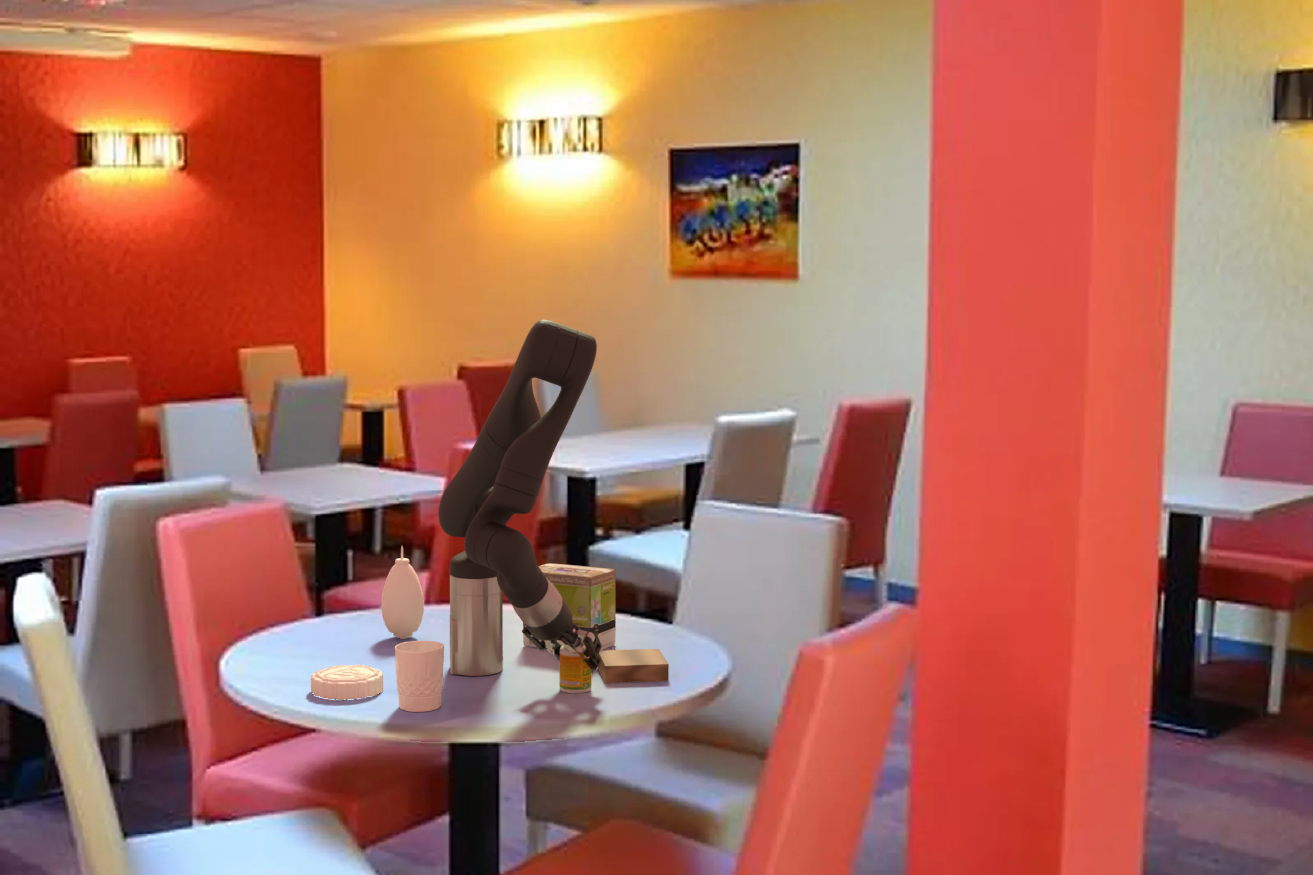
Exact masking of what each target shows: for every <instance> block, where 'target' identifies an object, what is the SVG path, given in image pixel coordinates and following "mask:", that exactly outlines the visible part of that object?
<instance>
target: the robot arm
mask: <svg viewBox="0 0 1313 875" xmlns="http://www.w3.org/2000/svg"><path fill="white" fill-rule="evenodd" d="M597 350H598V344H597V340H596V338H595V337H594V336H593V335H590V334H588V333H586V332H583V331H580V330H578V329H576V328H573V327H570V326H567V325H565V324H561V323H559V322H556V321H553V320H549V319H540V320H538V321H536V322H535V323H534V324H533V325H532V327H531V328H530V330H529V331H528V333H527V335H526V337H525V339H524V341H523V344H522V346H521V348H520V350H519V352H518V355H517V358H516V361H515V363H514V366H513V367H512V370H511V372H510V375H509V377H508V379H507V381H506V384H505V386H504V387H503V389H502V392H501V393H500V395H499V396H498V398H497V401H495V404H494V406H493V407H492V409H491V411H490V412H489V414H488V416H487V418H486V420H485V422H484V424H483V426H482V427H481V430H480V432H479V434H478V436H477V438H476V440H475V443H474V444H473V446H472V448H471V450H470V452H469V454H468V455H467V457H466V459H465V460H464V461H463V463H462V464H461V466H460V468H459V469H458V470H457V472H456V473H455V475H454V476H453V478H452V479H451V480H450V482H448V483H449V484H447V486H446V488H445V490H444V491H443V494H442V496H441V498H440V500H439V501H440V502H439V505H438V506H439V507H438V521H439V525H440V527H441V530H442V532H444V533H445V534H446V535H448V536H451V537H452V538H453V537H454V538H464V550H463V551H462V552H459V553H457V554H456V555H454V556H453V557H452V558H451V559H450V561H449V669H450V674H451V675H461V676H469V677H470V676H471V677H473V676H474V677H476V676H478V677H479V676H488V675H489V676H490V675H494V674H497V673H500V672H502V671H503V669H504V666H503V664H504V662H503V661H504V651H503V648H504V646H503V644H504V643H503V642H504V641H503V638H504V637H503V636H504V634H503V631H504V629H503V627H504V626H503V624H504V623H503V621H504V619H503V614H504V613H503V609H504V608H503V606H504V605H503V604H504V603H503V600H504V599H503V597H504V596H505V597H506V599H507V600H508V601H509V603H510V605H511V606H512V608H513V610H514V612H515V614H516V615H517V616H518V617H519V619H520V620H521V621H522V624H523V623H524V624H525V626H524V628H523V627H522V630H521V633H522V635H523V634H524V635H525V636H526V637H527V638H528V639H529V640H530V641H531V642H532V643H533V644H534V645H535V646H536V647H535V648H537V649H538V650H540V651H543V652H544V651H545V650H547V652H548V653H550V654H551V655H554V657H555V658H556V660H558V662H559V663H560V648H561V646H565V647H566V648H567V649H568V650H570V651H571V652H572V653H574V654H575V653H578V654H579V655H580V656H581V657H583V658H584V660H585V662H586V663H587V664H588V666H589V667H590V669H591V671H592V670H593V671H597V669H599V668H598V666H599V663H600V661H601V659H600V658H599V656H598V654H599V651H600V649H601V647H602V645H601V643H600V640H599V638H598V635H597V633H596V631H595V630H594V629H593V628H589V629H588V631H583V630H580V628H579V627H578V626H577V625H576V624H575V623H574V622H573V619H572V612H571V609H570V608H569V606H568V605H567V603H566V602H565V601H564V599H563V598H562V596H561V595H560V593H559V592H558V591H557V589H556V588H555V586H554V585H553V584H552V583H551V582H550V581H549V580H548V579H547V578H546V576H545V575H544V573H543V572H542V571H541V569H540V568H539V567H538V566H539V565H538V563H537V562H538V561H537V557H536V554H535V551H534V549H533V545H532V543H531V541H530V540H529V538H527V536H526V535H524V533H522V532H521V531H519V530H517V529H515V528H512V527H510V526H507V524H508V522H510V519H511V518H512V517H513V515H516V514H517V515H527V514H530V513H531V512H532V511H533V509H534V507H535V505H536V502H537V499H538V496H539V493H540V491H541V487H542V484H543V481H544V479H545V476H546V472H547V470H548V467H549V464H550V462H551V460H552V458H553V455H554V453H555V450H556V447H557V446H558V443H559V442H560V440H561V437H562V436H563V433H564V432H565V430H566V428H567V426H568V423H569V421H570V419H571V417H572V416H573V413H574V410H575V409H576V406H577V404H578V401H579V400H580V397H581V396H582V393H583V391H584V389H585V387H586V384H587V383H588V380H589V377H590V375H591V372H592V370H593V367H594V364H595V360H596V356H597ZM534 378H536V379H538V380H541V381H543V382H546V383H550V384H552V385H555V386H559V387H560V391H559V393H558V395H557V397H556V399H555V401H554V403H553V404H552V405H551V406H550V408H549V409H548V410H547V411H546V412H545V413H544V414H543V415H542V417H541V413H540V408H539V406H538V403H537V400H536V397H535V394H534V389H533V379H534ZM503 595H504V596H503ZM577 638H578V640H577ZM539 640H541V642H540V641H539ZM576 640H577V642H576ZM575 642H576V644H575ZM574 644H575V646H573V645H574ZM583 645H585V647H586V649H585V651H583V650H582V647H583Z"/></svg>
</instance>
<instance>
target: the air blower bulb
mask: <svg viewBox="0 0 1313 875" xmlns="http://www.w3.org/2000/svg"><path fill="white" fill-rule="evenodd" d="M383 585H384V586H383V589H382V595H381V603H380V605H381V614H382V620H383V622H384V625H385V627H386V629H387V630H388V632H389V633H391V634H393V636H394V637H395V638H397V639H399V638H400V639H399V640H406V639H409V637H412V636H413V633H415V632H417V631H418V629H419V628H420V626H421V623H422V620H423V616H424V612H425V602H424V600H425V598H424V593H423V589H422V588H423V587H422V585H421V582H420V579H419V577H418V574H417V572H416V571H415V569H414V567H413V566H412V565H411V563H410V559H409V558H405V557H404V547H403V545H401V547H400V558H396V559H395V561H394V565H393V566H392V567H391V568H390V570H389V573H388V574H387V577H386V579H385V582H384V584H383Z"/></svg>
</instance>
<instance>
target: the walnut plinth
mask: <svg viewBox="0 0 1313 875" xmlns="http://www.w3.org/2000/svg"><path fill="white" fill-rule="evenodd" d="M598 656H599V658H600V659H601V661H600V663H599V666H598V668H597V669H598V671H599V673H600V675H601V677H602V679H603V681H604V683H605V684H617V683H618V684H619V683H621V684H622V683H649V682H652V683H653V682H668V681H669V678H670V677H669V672H670V670H669V667H670V666H669V663H668V661H667V659H666V657H665V656H664V654H663V653H662V651H661V649H660V648H644V649H643V648H642V649H641V648H640V649H637V648H636V649H610V650H609V649H608V650H606V649H604V650H601V651H599V654H598Z"/></svg>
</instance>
